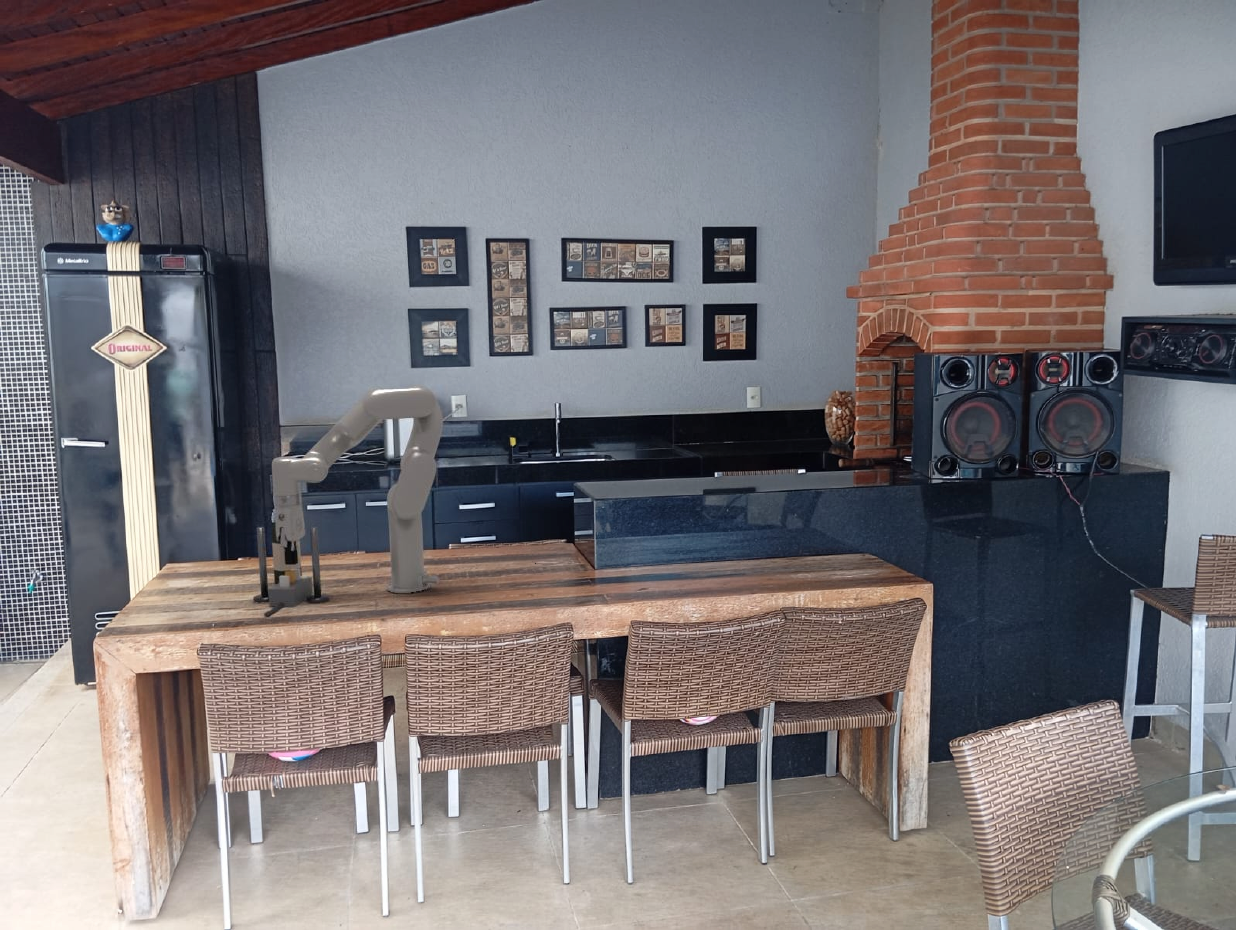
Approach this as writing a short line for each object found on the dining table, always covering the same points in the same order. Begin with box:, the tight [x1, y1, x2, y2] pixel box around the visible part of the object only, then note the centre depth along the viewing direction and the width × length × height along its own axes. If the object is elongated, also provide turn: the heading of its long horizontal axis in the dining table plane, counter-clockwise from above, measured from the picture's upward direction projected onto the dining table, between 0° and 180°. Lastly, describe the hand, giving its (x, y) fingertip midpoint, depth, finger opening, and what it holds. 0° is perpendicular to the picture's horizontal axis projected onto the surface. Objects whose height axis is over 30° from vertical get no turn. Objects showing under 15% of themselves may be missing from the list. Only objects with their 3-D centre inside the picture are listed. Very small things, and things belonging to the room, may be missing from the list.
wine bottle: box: [271, 520, 303, 584], centre depth 328 cm, size 8×8×30 cm
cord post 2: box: [305, 526, 331, 604], centre depth 305 cm, size 6×6×21 cm
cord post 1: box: [252, 526, 269, 603], centre depth 306 cm, size 6×6×21 cm
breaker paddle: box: [285, 571, 295, 583], centre depth 306 cm, size 2×1×3 cm, turn 84°
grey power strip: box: [263, 569, 314, 618], centre depth 302 cm, size 7×24×8 cm, turn 174°
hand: (291, 563), depth 307 cm, fingers closed
